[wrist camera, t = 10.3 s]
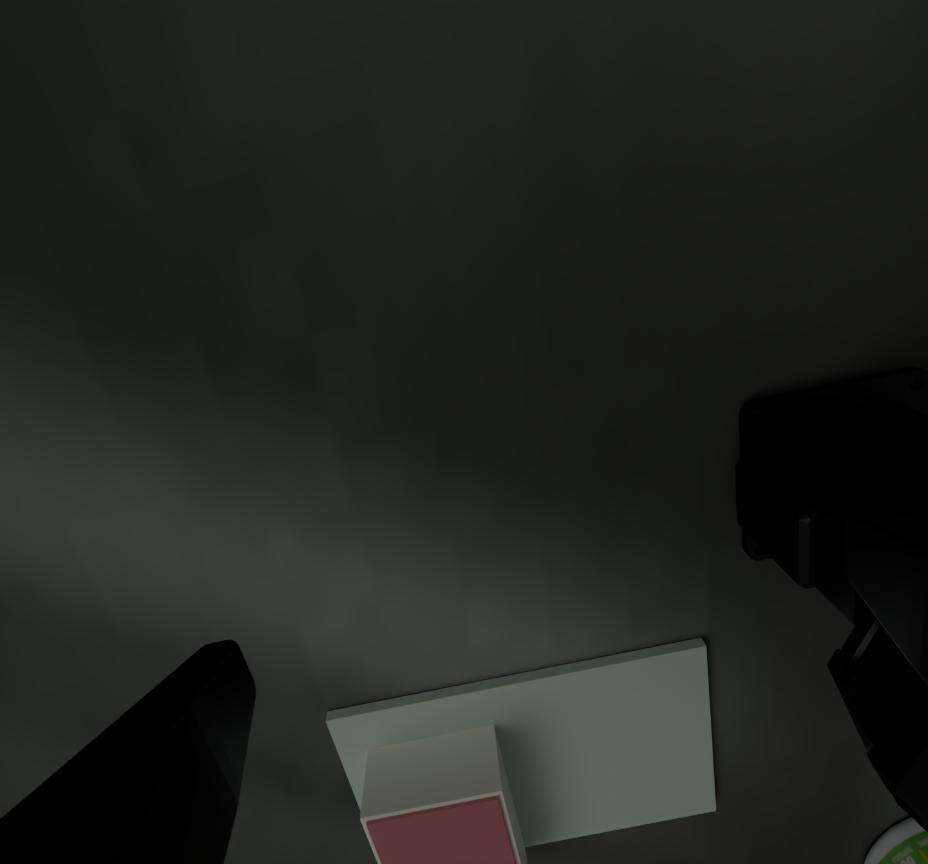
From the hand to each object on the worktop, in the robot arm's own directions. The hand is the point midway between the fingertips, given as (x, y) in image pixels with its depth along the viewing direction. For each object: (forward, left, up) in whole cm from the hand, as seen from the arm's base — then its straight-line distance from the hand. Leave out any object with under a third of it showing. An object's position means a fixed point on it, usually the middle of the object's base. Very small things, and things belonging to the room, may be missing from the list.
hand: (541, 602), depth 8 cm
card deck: (+5, +19, -12) cm, 23 cm away
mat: (+1, +18, -12) cm, 22 cm away
